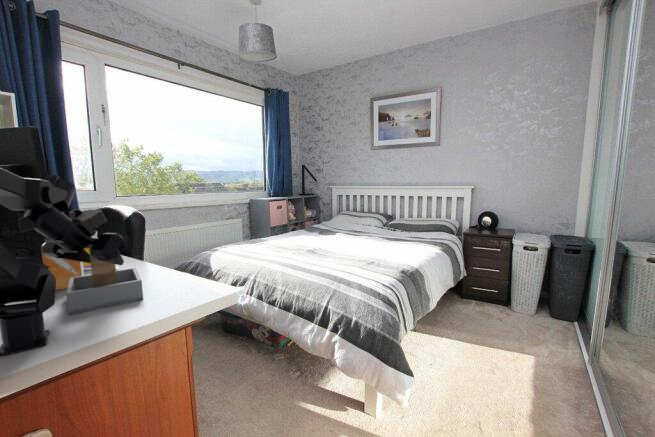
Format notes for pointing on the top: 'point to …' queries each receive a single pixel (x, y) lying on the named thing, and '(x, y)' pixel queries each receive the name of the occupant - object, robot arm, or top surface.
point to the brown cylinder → (102, 272)
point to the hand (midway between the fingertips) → (107, 262)
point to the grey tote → (103, 292)
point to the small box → (63, 269)
